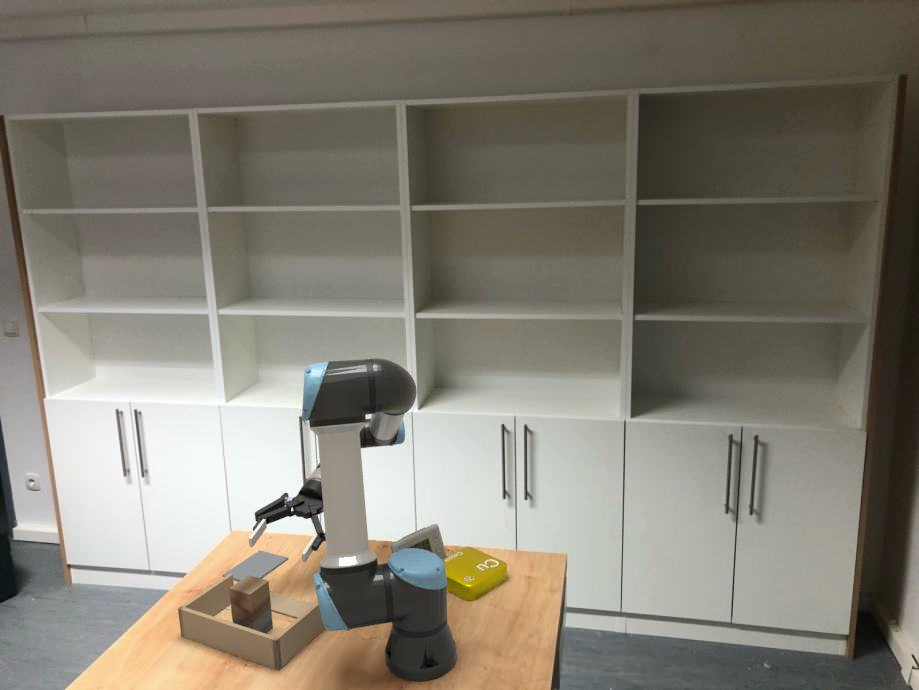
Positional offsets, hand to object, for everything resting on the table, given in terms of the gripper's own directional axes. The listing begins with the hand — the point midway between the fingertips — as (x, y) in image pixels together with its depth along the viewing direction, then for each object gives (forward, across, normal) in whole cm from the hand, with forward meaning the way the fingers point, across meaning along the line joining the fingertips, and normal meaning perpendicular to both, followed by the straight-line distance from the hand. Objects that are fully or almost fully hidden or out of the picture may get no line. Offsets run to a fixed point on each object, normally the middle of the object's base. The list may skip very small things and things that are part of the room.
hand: (276, 550), depth 163 cm
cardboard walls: (+9, 0, -15) cm, 17 cm away
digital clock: (-20, -28, -19) cm, 40 cm away
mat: (-11, +14, -24) cm, 30 cm away
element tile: (-20, -42, -17) cm, 49 cm away
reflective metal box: (+12, 0, -14) cm, 18 cm away
